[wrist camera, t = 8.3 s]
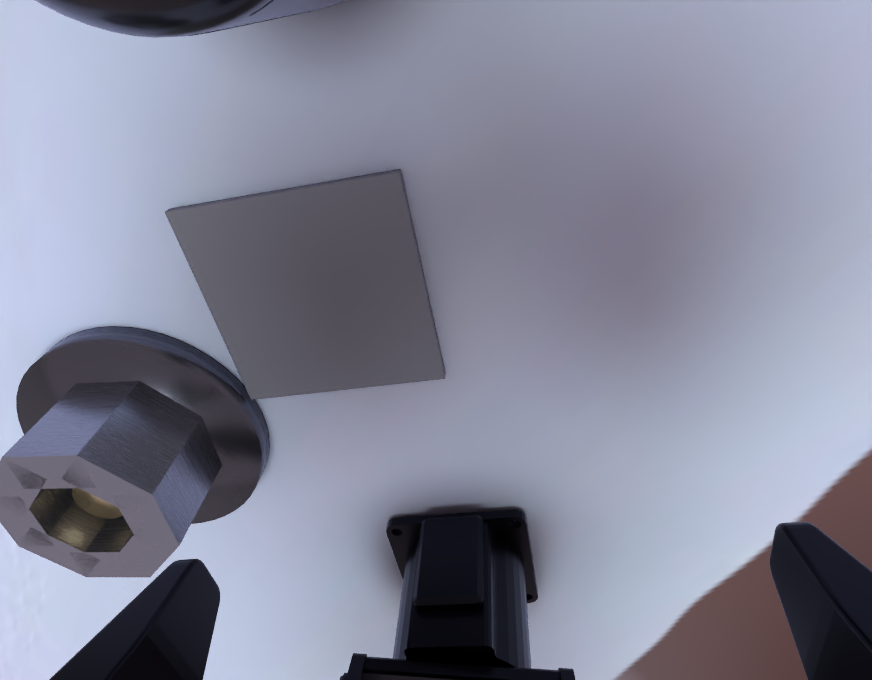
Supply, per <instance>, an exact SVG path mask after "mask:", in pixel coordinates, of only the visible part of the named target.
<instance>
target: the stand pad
mask: <svg viewBox="0 0 872 680" xmlns="http://www.w3.org/2000/svg"><path fill="white" fill-rule="evenodd" d="M165 213H166V216H167V218H168V220H169V222H170V224H171V226H172V229H173V231H174V233H175V235H176V237H177V240H178V242H179V244H180V246H181V248H182V250H183V253H184V255H185V257H186V259H187V261H188V263H189V266H190V268H191V270H192V272H193V274H194V277H195V279H196V281H197V283H198V285H199V287H200V290H201V292H202V294H203V296H204V298H205V300H206V303H207V305H208V307H209V309H210V311H211V313H212V316H213V318H214V320H215V322H216V324H217V327H218V329H219V331H220V333H221V335H222V337H223V340H224V342H225V344H226V346H227V348H228V350H229V353H230V355H231V357H232V359H233V361H234V363H235V366H236V368H237V370H238V372H239V374H240V377H241V379H242V381H243V383H244V385H245V387H246V390H247V392H248V394H249V396H250V398H251V400H253V399H263V398H272V397H281V396H290V395H299V394H308V393H317V392H327V391H336V390H345V389H354V388H363V387H372V386H381V385H391V384H400V383H409V382H418V381H427V380H436V379H445V370H444V365H443V361H442V356H441V352H440V347H439V343H438V338H437V334H436V329H435V325H434V320H433V316H432V311H431V307H430V302H429V298H428V293H427V289H426V284H425V280H424V275H423V271H422V266H421V261H420V257H419V252H418V248H417V243H416V239H415V234H414V230H413V225H412V221H411V216H410V212H409V207H408V203H407V198H406V194H405V189H404V185H403V180H402V176H401V171H400V169H399V170H393V171H387V172H381V173H375V174H370V175H364V176H358V177H352V178H346V179H341V180H335V181H329V182H323V183H317V184H312V185H306V186H300V187H294V188H288V189H283V190H277V191H271V192H265V193H259V194H254V195H248V196H242V197H236V198H230V199H225V200H219V201H213V202H207V203H201V204H196V205H190V206H184V207H178V208H172V209H169V210H167V211H166V212H165Z"/></svg>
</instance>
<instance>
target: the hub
mask: <svg viewBox="0 0 872 680" xmlns="http://www.w3.org/2000/svg"><path fill="white" fill-rule="evenodd" d="M123 381H141V382H143V383H145V384H146V385H148V386H150V387H152V388H153V389H155V390H157V391H158V392H160V393H162V394H164V395H165V396H167V397H169V398H170V399H172V400H174V401H176V402H177V403H179V404H181V405H182V406H184V407H186V408H188V409H189V410H191V411H193V412H194V413H196V414H198V415H200V416H201V417H202V418H203V420H204V423H205V425H206V427H207V430H208V432H209V435H210V437H211V439H212V442H213V444H214V447H215V449H216V451H217V454H218V456H219V458H220V461H221V463H222V467H221V469H220V471H219V472H218V474H217V476H216V478H215V480H214V482H213V484H212V485H211V487H210V489H209V491H208V493H207V495H206V497H205V499H204V500H203V502H202V504H201V506H200V508H199V510H198V512H197V513H196V515H195V517H194V519H193V521H192V523H191V524H194V523H202V522H207V521H211V520H215V519H218V518H220V517H223V516H226V515H227V514H229V513H231V512H233V511H235V510H236V509H237V508H239V507H240V506H241V505H243V504H244V503H245V501H246V500H247V499H248V498H249V497H250V496H251V494H252V492H253V491H254V489H255V487H256V485H257V483H258V481H259V478H260V476H261V474H262V472H263V469H264V467H265V464H266V461H267V459H268V453H269V435H268V430H267V425H266V423H265V420H264V417H263V415H262V413H261V411H260V409H259V407H258V405H257V403H256V401H255V400H254V399H253V400H251V398H250V396H249V394H248V392H247V390H246V388H245V387H244V386H243V385H242V384H241V382H240V381H239V380H238V379H237V378H236V377H235V376H234V375H233V374H231V373H230V372H229V371H228V370H227V369H226V368H225V367H223V366H222V365H221V364H219V363H218V362H217V361H215V360H214V359H213V358H211V357H210V356H208V355H206V354H205V353H203V352H201V351H200V350H198V349H196V348H194V347H192V346H190V345H188V344H186V343H184V342H182V341H180V340H177V339H174V338H171V337H169V336H166V335H163V334H160V333H156V332H152V331H148V330H143V329H137V328H130V327H100V328H93V329H89V330H84V331H81V332H78V333H75V334H73V335H70V336H68V337H67V338H65V339H63V340H61V341H60V342H58V343H57V344H56V345H55V346H54V347H53V348H51V349H50V350H49V351H48V352H47V353H46V354H44V355H43V356H42V357H41V358H40V359H39V360H37V361H36V362H35V363H34V364H33V365H32V366H31V367H30V368H29V369H28V370H27V372H26V373H25V374H24V376H23V378H22V380H21V382H20V385H19V388H18V392H17V413H18V419H19V422H20V425H21V428H22V431H23V433H24V435H25V434H26V433H27V432H28V431H29V430H30V429H31V428H32V427H33V426H34V425H35V424H36V423H37V422H38V421H39V420H40V419H41V418H42V417H43V416H44V415H45V414H46V413H47V412H48V411H49V410H50V409H51V408H52V407H53V406H54V405H55V404H56V403H57V402H58V401H59V400H60V399H61V398H62V397H63V396H64V395H65V394H66V393H67V392H68V391H69V390H70V389H71V388H72V387H73V386H74V385H75V384H76V383H98V382H123ZM72 496H73V499H74V501H75V502H76V503H77V505H78V506H79V507H81V508H82V509H83V510H85V511H86V512H88V513H90V514H92V515H94V516H97V517H101V518H107V519H113V518H118V517H121V516H122V513H121V512H120V510H119V508H118V507H116V506H114V505H112V504H110V503H108V502H106V501H104V500H102V499H100V498H98V497H96V496H94V495H92V494H90V493H88V492H86V491H84V490H82V489H80V488H73V490H72Z"/></svg>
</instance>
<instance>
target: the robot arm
mask: <svg viewBox="0 0 872 680" xmlns="http://www.w3.org/2000/svg"><path fill="white" fill-rule="evenodd" d="M386 532H387V536H388V538H389V541H390V544H391V547H392V550H393V553H394V555H395V558H396V561H397V564H398V567H399V569H400V572H401V575H402V578H403V587H402V594H401V602H400V609H399V617H398V624H397V631H396V639H395V646H394V654H393V659H391V658H377V657H367V654H357V653H353V656H352V659H351V663H350V666H349V670H348V673H344V675H343V676H341V677H340V680H575V676H574V671H573V669H567V668H559V669H558V670H545V669H531V659H530V644H529V629H528V615H527V603H532V602H534V601H536V600H537V598H538V594H537V585H536V579H535V572H534V566H533V559H532V553H531V546H530V540H529V533H528V527H527V520H526V516H525V514H524V513H523V512H522V511H519V510H505V511H491V512H477V513H462V514H448V515H434V516H419V517H405V518H394V519H391V520H389V522H388V524H387V529H386ZM770 569H771V573H772V576H773V580H774V583H775V585H776V588H777V591H778V594H779V597H780V600H781V603H782V606H783V609H784V612H785V614H786V617H787V620H788V623H789V626H790V629H791V632H792V634H793V638H794V641H795V643H796V646H797V649H798V652H799V655H800V658H801V661H802V664H803V667H804V669H805V672H806V675H807V677H808V680H872V571H871V570H870V569H869V568H867V567H866V566H865V565H864V564H862V563H861V562H860V561H859V560H857V559H856V558H855V557H853V556H852V555H851V554H850V553H849V552H847V551H846V550H845V549H844V548H842V547H841V546H840V545H839V544H837V543H836V542H835V541H834V540H832V539H831V538H830V537H829V536H827V535H826V534H825V533H824V532H822V531H821V530H820V529H819V528H817V527H816V526H814V525H813V524H811V523H808V522H791V523H781V524H779V525H778V526H777V527H776V530H775V534H774V539H773V544H772V549H771V554H770ZM219 603H220V591H219V587H218V585H217V584H216V582H215V581H214V579H213V577H212V576H211V574H210V573H209V571H208V570H207V568H206V566H205V565H204V563H203V562H202V561H200V560H198V559H188V560H178V561H175V562H173V563H172V564H171V565H169V566H168V567H167V568H166V569H165V570H164V571H163V572H162V573H161V574H160V575H159V576H158V577H157V578H156V579H155V580H154V581H153V582H152V583H150V584H149V585H148V586H147V587H146V588H145V589H144V590H143V591H142V592H141V593H140V594H139V595H138V596H137V597H136V598H135V599H134V600H133V601H132V602H130V603H129V604H128V605H127V606H126V607H125V608H124V609H123V610H122V611H121V612H120V613H119V614H118V615H117V616H116V617H115V618H114V619H113V620H112V621H111V622H109V623H108V624H107V625H106V626H105V627H104V628H103V629H102V630H101V631H100V632H99V633H98V634H97V635H96V636H95V637H94V638H93V639H92V640H91V641H89V642H88V643H87V644H86V645H85V646H84V647H83V648H82V649H81V650H80V651H79V652H78V653H77V654H76V655H75V656H74V657H73V658H72V659H71V660H69V661H68V662H67V663H66V664H65V665H64V666H63V667H62V668H61V669H60V670H59V671H58V672H57V673H56V674H55V675H54V676H53V677H52V678H51V679H50V680H203V675H204V671H205V666H206V662H207V657H208V653H209V648H210V644H211V639H212V635H213V630H214V625H215V621H216V616H217V612H218V607H219Z"/></svg>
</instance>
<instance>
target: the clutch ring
mask: <svg viewBox="0 0 872 680" xmlns="http://www.w3.org/2000/svg"><path fill="white" fill-rule="evenodd" d="M221 467H222V463H221V461H220V458H219V456H218V454H217V451H216V449H215V447H214V444H213V442H212V439H211V437H210V435H209V432H208V430H207V427H206V425H205V423H204V420H203V418H202V417H201V416H200V415H198V414H196V413H194V412H193V411H191V410H189V409H188V408H186V407H184V406H182V405H181V404H179V403H177V402H176V401H174V400H172V399H170V398H169V397H167V396H165V395H164V394H162V393H160V392H158V391H157V390H155V389H153V388H152V387H150V386H148V385H146V384H145V383H143V382H141V381H123V382H98V383H76V384H75V385H74V386H73V387H72V388H71V389H70V390H69V391H68V392H67V393H66V394H65V395H64V396H63V397H62V398H61V399H60V400H59V401H58V402H57V403H56V404H55V405H54V406H53V407H52V408H51V409H50V410H49V411H48V412H47V413H46V414H45V415H44V416H43V417H42V418H41V419H40V420H39V421H38V422H37V423H36V424H35V425H34V426H33V427H32V428H31V429H30V430H29V431H28V432H27V433H26V434H25V435H24V436H23V437H22V438H21V439H20V440H19V441H18V442H17V443H16V444H15V445H14V446H13V447H12V448H11V449H10V450H9V451H8V452H7V453H6V454H5V455H4V456H3V457H2V459H1V461H0V522H1V524H2V525H3V526H4V528H5V529H6V530H7V531H8V533H9V534H10V535H11V537H12V538H13V539H14V541H15V542H16V543H17V544H18V546H20V547H22V548H24V549H26V550H28V551H30V552H33V553H35V554H37V555H39V556H41V557H44V558H46V559H48V560H50V561H52V562H55V563H57V564H59V565H61V566H63V567H66V568H68V569H70V570H72V571H74V572H76V573H79V574H81V575H83V576H85V577H151V576H152V575H153V573H154V572H155V571H156V570H157V569H158V568H159V567H160V566H161V565H162V564H163V563H164V562H165V560H166V559H167V558H168V557H169V556H170V555H171V554H172V553H173V552H174V551H175V550H176V549H177V547H178V546H179V545H180V543H181V541H182V540H183V538H184V536H185V534H186V532H187V530H188V528H189V527H190V525H191V523H192V521H193V519H194V517H195V515H196V513H197V512H198V510H199V508H200V506H201V504H202V502H203V500H204V499H205V497H206V495H207V493H208V491H209V489H210V487H211V485H212V484H213V482H214V480H215V478H216V476H217V474H218V472H219V471H220V469H221ZM73 488H80V489H82V490H84V491H86V492H88V493H90V494H92V495H94V496H96V497H98V498H100V499H102V500H104V501H106V502H108V503H110V504H112V505H114V506H116V507H118V508H119V510H120V512H121V513H122V516H121V517H118V518H113V519H107V518H101V517H97V516H94V515H92V514H90V513H88V512H86V511H85V510H83V509H82V508H81V507H79V506H78V505H77V503H76V502H75V501H74V499H73V496H72V490H73Z"/></svg>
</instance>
